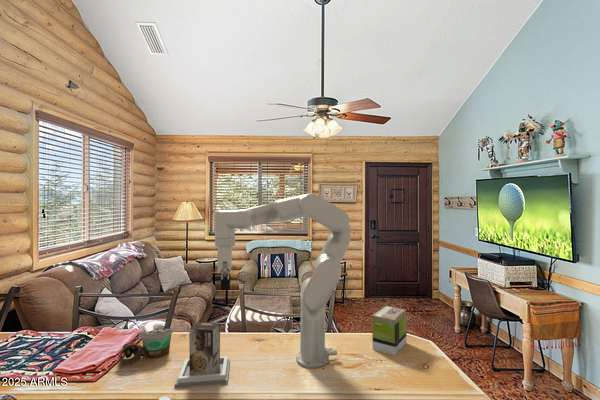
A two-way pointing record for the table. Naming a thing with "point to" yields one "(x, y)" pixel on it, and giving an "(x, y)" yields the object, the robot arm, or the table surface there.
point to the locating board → (199, 380)
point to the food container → (156, 342)
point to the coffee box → (204, 348)
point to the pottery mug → (128, 352)
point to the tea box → (389, 330)
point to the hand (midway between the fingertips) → (225, 286)
